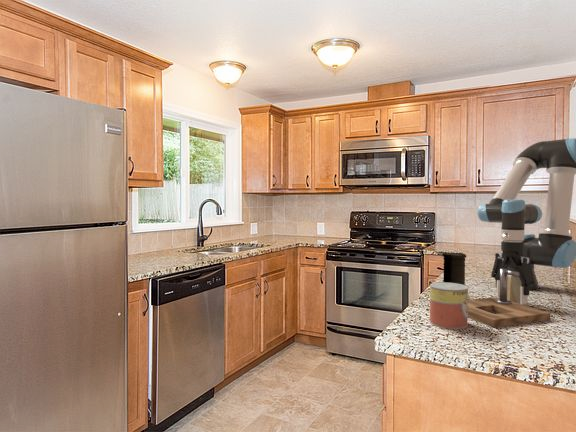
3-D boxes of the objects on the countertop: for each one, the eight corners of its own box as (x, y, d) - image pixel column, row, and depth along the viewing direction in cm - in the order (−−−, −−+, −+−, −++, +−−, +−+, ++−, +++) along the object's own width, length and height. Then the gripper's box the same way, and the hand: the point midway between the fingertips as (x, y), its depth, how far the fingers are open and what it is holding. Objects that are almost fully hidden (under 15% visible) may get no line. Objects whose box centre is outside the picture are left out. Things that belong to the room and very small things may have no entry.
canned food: (464, 331, 121) (465, 291, 121) (425, 325, 127) (426, 287, 127) (470, 321, 131) (470, 284, 130) (433, 316, 137) (434, 280, 136)
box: (501, 302, 154) (502, 273, 154) (512, 301, 155) (513, 272, 154) (510, 305, 149) (511, 275, 148) (521, 305, 149) (522, 275, 149)
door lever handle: (503, 300, 147) (503, 267, 147) (523, 306, 139) (523, 271, 139) (492, 301, 146) (492, 268, 145) (511, 307, 138) (512, 272, 137)
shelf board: (496, 303, 152) (496, 297, 152) (550, 320, 131) (550, 312, 131) (445, 308, 145) (445, 302, 145) (493, 327, 124) (493, 319, 124)
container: (465, 297, 161) (465, 252, 160) (467, 303, 153) (468, 255, 152) (441, 296, 164) (441, 251, 163) (441, 301, 156) (442, 254, 155)
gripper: (481, 238, 160) (480, 294, 161) (531, 244, 139) (530, 308, 140) (496, 237, 163) (495, 292, 164) (548, 243, 141) (546, 307, 142)
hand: (511, 300), depth 152 cm, fingers open, 10 cm apart
